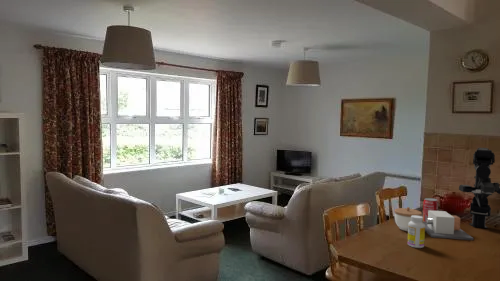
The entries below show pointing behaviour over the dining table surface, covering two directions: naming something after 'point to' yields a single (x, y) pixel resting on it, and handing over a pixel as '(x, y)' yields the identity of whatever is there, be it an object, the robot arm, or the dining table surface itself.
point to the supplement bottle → (416, 232)
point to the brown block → (456, 222)
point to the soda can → (429, 207)
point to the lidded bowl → (405, 217)
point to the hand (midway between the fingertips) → (480, 206)
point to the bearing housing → (444, 226)
